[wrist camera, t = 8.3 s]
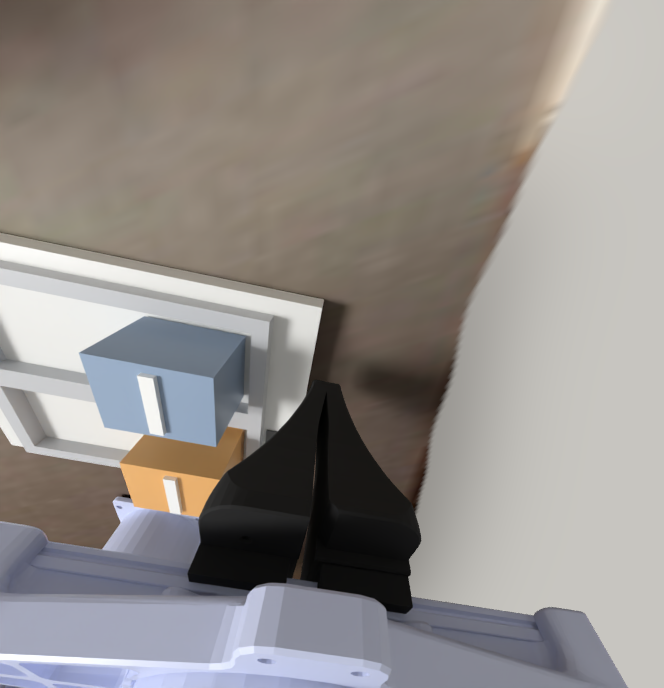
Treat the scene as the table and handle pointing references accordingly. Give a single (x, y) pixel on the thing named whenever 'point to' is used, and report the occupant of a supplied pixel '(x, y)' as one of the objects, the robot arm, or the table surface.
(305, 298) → the white flat tray
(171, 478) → the orange white-striped block
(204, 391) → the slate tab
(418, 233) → the table surface
